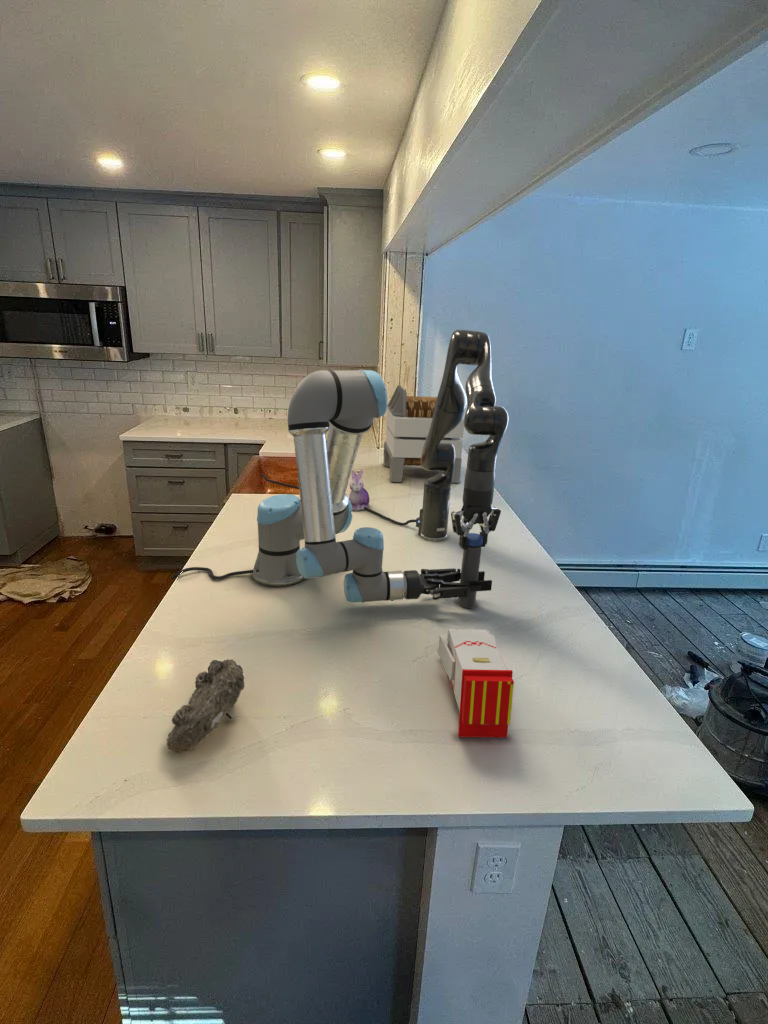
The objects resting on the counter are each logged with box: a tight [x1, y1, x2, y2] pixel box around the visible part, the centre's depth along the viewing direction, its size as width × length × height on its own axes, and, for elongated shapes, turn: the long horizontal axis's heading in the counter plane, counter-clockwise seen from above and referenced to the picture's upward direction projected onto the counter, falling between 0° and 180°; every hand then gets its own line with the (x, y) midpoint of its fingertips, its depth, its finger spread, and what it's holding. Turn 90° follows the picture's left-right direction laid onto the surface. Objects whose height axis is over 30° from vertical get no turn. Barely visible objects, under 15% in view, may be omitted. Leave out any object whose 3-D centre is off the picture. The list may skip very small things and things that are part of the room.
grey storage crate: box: [383, 384, 465, 484], centre depth 268 cm, size 34×33×41 cm
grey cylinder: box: [457, 545, 483, 609], centre depth 151 cm, size 5×5×19 cm
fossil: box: [166, 658, 245, 754], centre depth 106 cm, size 22×10×15 cm
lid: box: [467, 532, 483, 546], centre depth 148 cm, size 5×5×2 cm
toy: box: [437, 628, 515, 738], centre depth 117 cm, size 12×13×30 cm
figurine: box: [348, 469, 370, 511], centre depth 222 cm, size 9×10×15 cm
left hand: (487, 580), depth 153 cm, fingers closed on grey cylinder, 5 cm apart
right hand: (472, 547), depth 149 cm, fingers closed on lid, 5 cm apart
